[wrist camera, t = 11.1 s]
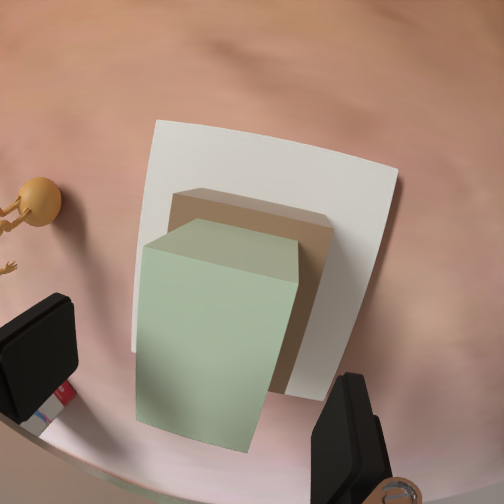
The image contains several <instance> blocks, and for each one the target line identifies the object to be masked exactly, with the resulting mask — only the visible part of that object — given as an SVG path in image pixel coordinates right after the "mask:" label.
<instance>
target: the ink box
mask: <svg viewBox="0 0 504 504" xmlns="http://www.w3.org/2000/svg"><path fill="white" fill-rule="evenodd" d="M75 396H76V392H75V390H74V389H73V388H72V387H71V386H70V384H69V383H68V382H67V381H65V382H64V383H63V384H62V385H61V386H60V387H59V388H58V389H57V390H56V391H55V392H54V393H53V394H52V395H51V396H50V397H49V398H48V399H47V400H46V401H45V403H44V404H43V405H42V406H41V407H40V408H39V409H38V410H37V411H36V412H35V413H34V414H33V415H32V416H31V417H30V419H29V420H27V421H26V422H22V423H21V424H20V425H19V426H21V427H22V428H24V429H26V430H27V431H29V432H30V433H32V434H33V435H35V436H37V437H39V436H40V435H41V433H42V432H43V431H44V430H45V429H46V428H47V427H48V426H49V424H50V423H51V422H52V421H53V420H54V419H55V418H56V417H57V416H58V414H59V413H60V412H61V411H62V410H63V409H64V408H65V407H66V406H67V405H68V403H69V402H70V401H71V400H72V399H73V398H74V397H75Z"/></svg>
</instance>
